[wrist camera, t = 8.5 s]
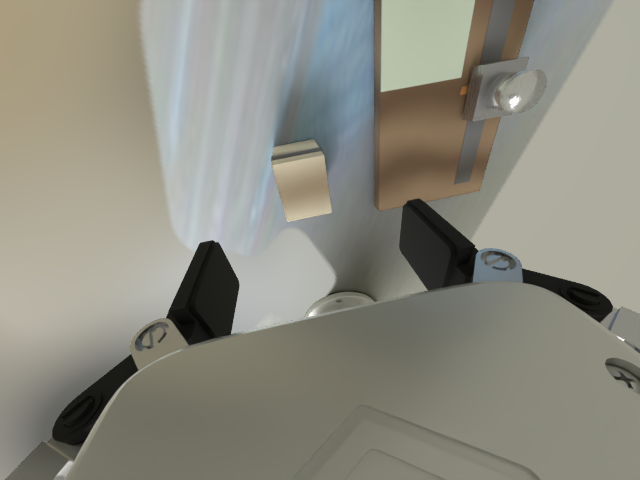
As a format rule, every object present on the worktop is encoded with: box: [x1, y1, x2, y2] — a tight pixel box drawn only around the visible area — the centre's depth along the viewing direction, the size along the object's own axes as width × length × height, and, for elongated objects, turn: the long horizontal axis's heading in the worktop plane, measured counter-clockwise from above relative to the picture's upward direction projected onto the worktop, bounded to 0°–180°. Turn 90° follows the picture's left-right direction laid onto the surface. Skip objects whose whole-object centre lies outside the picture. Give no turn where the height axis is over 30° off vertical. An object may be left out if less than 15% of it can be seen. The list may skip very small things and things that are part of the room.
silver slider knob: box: [462, 57, 547, 122], centre depth 18 cm, size 4×4×4 cm
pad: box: [381, 0, 475, 92], centre depth 17 cm, size 7×7×1 cm
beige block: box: [271, 139, 332, 222], centre depth 21 cm, size 5×4×6 cm
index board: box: [374, 0, 534, 211], centre depth 21 cm, size 20×12×2 cm, turn 8°
